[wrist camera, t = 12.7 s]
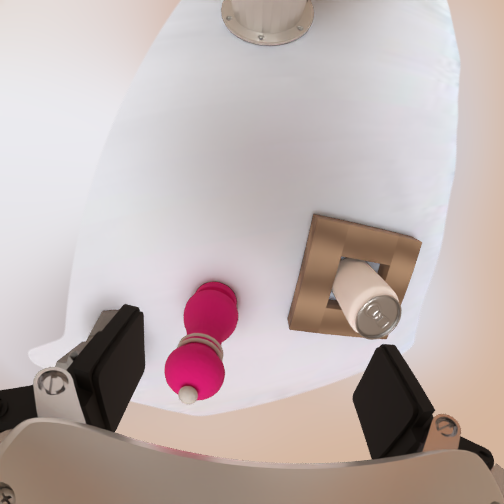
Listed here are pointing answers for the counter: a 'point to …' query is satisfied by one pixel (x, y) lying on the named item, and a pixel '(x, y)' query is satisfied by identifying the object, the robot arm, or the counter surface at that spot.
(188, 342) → the pepper mill
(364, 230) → the socket board
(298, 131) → the counter surface
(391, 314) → the can
